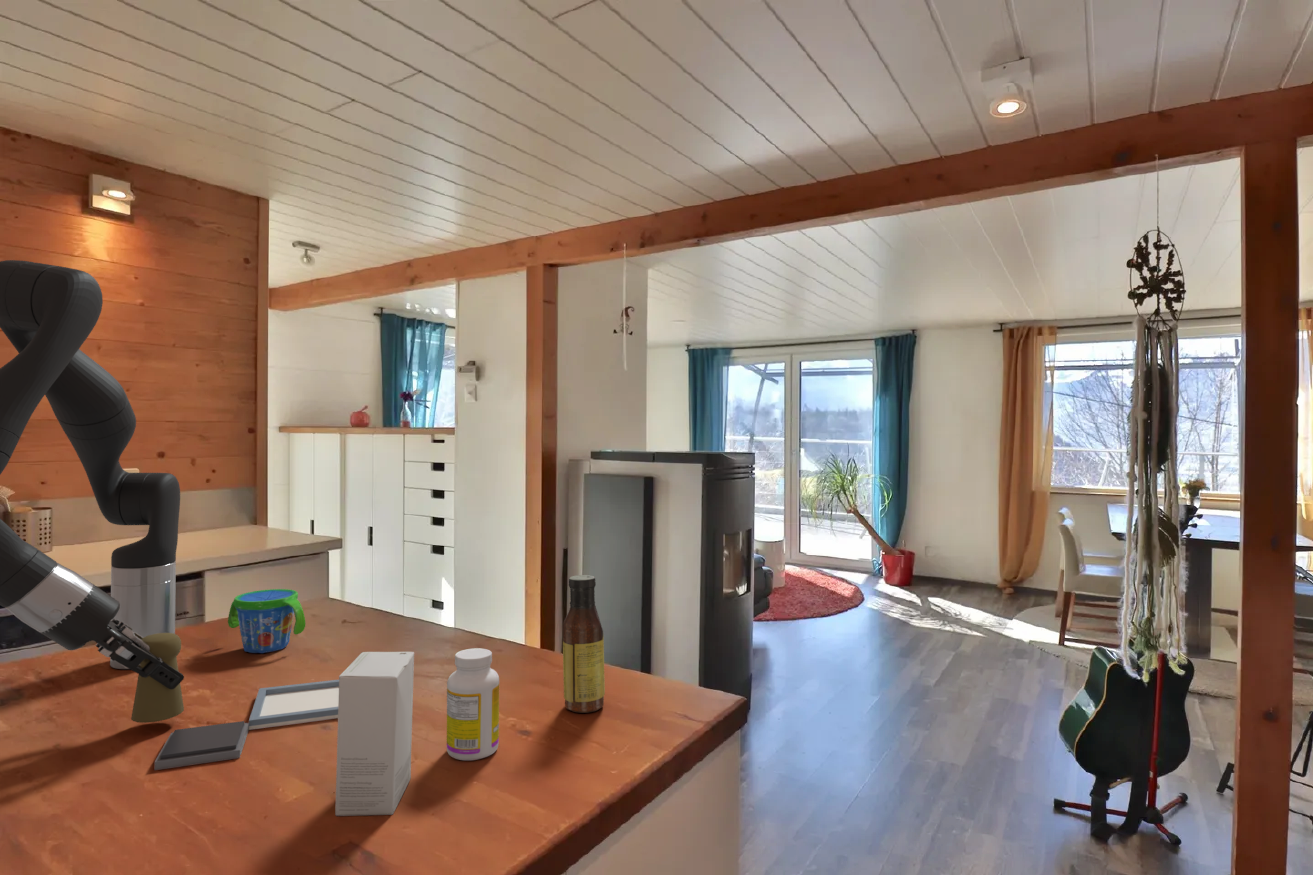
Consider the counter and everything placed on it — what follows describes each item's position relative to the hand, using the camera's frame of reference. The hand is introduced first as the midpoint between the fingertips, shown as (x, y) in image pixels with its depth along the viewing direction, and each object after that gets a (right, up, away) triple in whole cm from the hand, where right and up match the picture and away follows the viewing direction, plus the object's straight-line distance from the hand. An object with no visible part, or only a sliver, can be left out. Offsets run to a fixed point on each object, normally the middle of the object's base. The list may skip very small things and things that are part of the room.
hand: (174, 677), depth 100 cm
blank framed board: (+15, -7, +7) cm, 18 cm away
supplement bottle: (+44, -7, -7) cm, 45 cm away
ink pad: (+9, -7, -8) cm, 14 cm away
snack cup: (-6, -6, +34) cm, 35 cm away
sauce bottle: (+57, -8, +9) cm, 58 cm away
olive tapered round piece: (-1, -5, -1) cm, 5 cm away
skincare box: (+36, -7, -19) cm, 41 cm away
